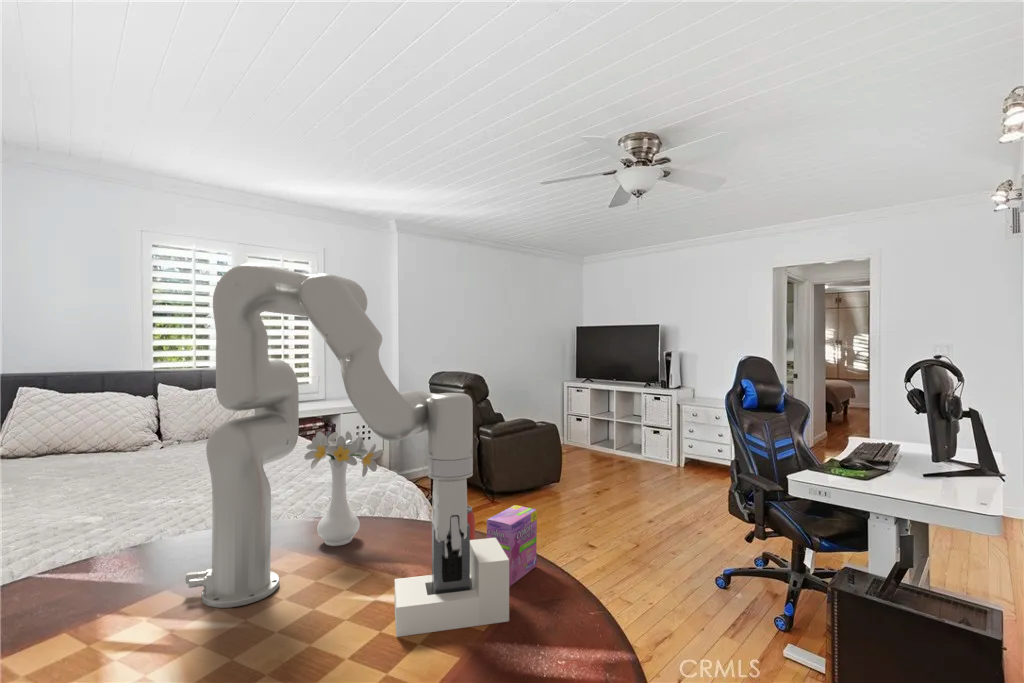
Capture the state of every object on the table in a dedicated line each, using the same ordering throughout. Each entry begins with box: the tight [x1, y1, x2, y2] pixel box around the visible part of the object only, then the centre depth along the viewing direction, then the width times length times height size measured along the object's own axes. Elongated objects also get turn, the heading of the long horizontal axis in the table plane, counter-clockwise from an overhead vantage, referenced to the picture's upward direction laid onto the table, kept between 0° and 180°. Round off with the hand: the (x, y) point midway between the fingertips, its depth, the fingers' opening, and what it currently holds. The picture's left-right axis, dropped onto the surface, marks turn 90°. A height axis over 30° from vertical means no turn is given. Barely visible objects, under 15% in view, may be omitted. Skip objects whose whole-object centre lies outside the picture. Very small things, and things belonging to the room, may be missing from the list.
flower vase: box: [304, 430, 384, 547], centre depth 117 cm, size 13×18×25 cm
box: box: [486, 504, 538, 587], centre depth 100 cm, size 10×6×12 cm, turn 148°
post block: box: [394, 537, 510, 638], centre depth 85 cm, size 18×10×10 cm, turn 105°
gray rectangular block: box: [431, 522, 470, 595], centre depth 85 cm, size 6×3×12 cm, turn 104°
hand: (450, 574), depth 85 cm, fingers closed on gray rectangular block, 3 cm apart
